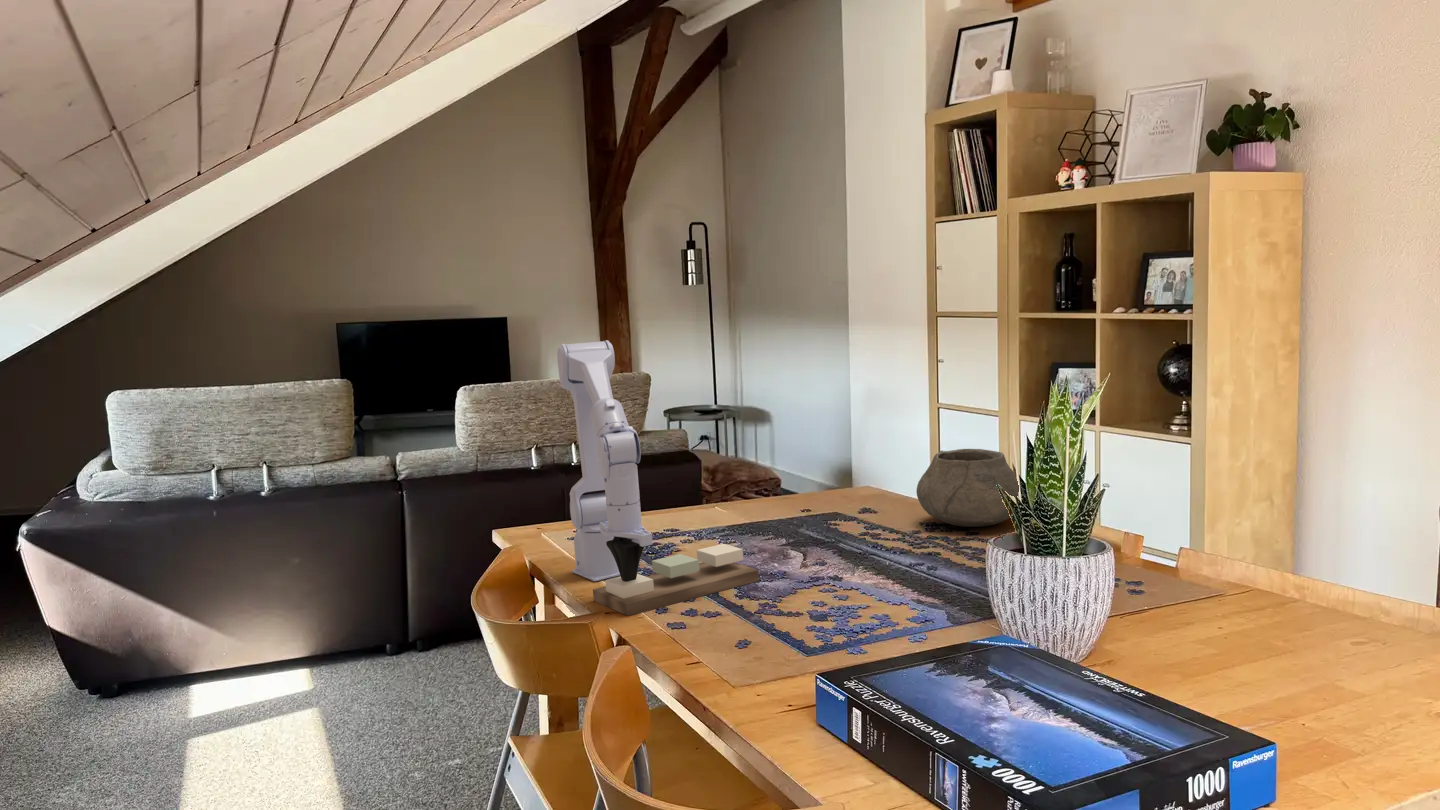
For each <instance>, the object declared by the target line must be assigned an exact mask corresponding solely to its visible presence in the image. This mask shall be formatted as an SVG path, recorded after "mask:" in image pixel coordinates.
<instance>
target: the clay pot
mask: <svg viewBox="0 0 1440 810" xmlns="http://www.w3.org/2000/svg"><path fill="white" fill-rule="evenodd" d="M1014 473H1015V472H1014V470H1013V469H1012V468H1011V467H1010V465H1009V463H1008V462H1007V459H1006V457H1005V453H1003V452H1000V451H996V450H990V449H983V448H959V449H953V450H945V451H939V452H937V453H936V454H935V455H934V456H933V458H932V460H931V463H930V465H929V466H928V467H927V469H926V470H925V471H924V473H923V474H922V476H921V477H920V479H919V481H918V483H917V486H916V492H915V493H916V496H917V500H918V502H919V504H920V506H921V507H922V509H923V511H925V512H926V513H927V514H928V515H929V516H931V517H932V518H934V519H935V520H939V521H941V522H943V523H946V524H948V525H952V526H957V527H964V528H966V527H967V528H977V527H978V528H979V527H989V526H992V525H993V526H994V525H996V524H1000V523H1002V522H1005V521H1006V520H1008V519H1010V518H1011V517H1010V516H1009V513H1008V510H1007V509H1006V507H1005V505H1004V503H1003V502H1002V498H1001V495H1000V493H999V490H998V488H997V486H996V484H999V485H1000V486H1001V487H1002V489H1003V490H1004V491H1006V492H1007V493H1008V494H1009V495H1011V496H1014V497H1017V496H1018V492H1019V485H1018V481H1017V479H1016V477H1015V475H1014Z"/></svg>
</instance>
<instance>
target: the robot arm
mask: <svg viewBox="0 0 1440 810" xmlns="http://www.w3.org/2000/svg"><path fill="white" fill-rule="evenodd" d="M556 354H557V358H556V359H557V369H558V377H559V382H560V385H561V388H562V389H564V390H565V391H568V392H570V394H571V398H572V401H573V408H574V415H575V416H574V417H575V425H576V431H577V439H578V440H577V441H578V442H577V443H578V449H579V457H580V465H581V473H582V475H581V476H582V477H581V478H580V479H579V480H578V481H577V482H576V483H575V484H574V485H573V486H572V487H571V489H570V492H569V500H570V501H569V514H570V518H571V519H570V520H571V523H572V526H573V527H574V528H575V529H576V530H577V531H575V535H574V537H573V545H574V546H573V547H574V558H575V568H574V569H573V568H572V570H571V572H572V573H573V574H576V575H578V576H580V577H583V578H585V579H588V580H590V581H593V582H598V581H602V580H608V579H612V578H616V577H620V576H621V579H622V581H625V582H628V581H632V580H636V577H637V574H638V570H639V564H640V561H641V556H642V553H643V551H644V549H645V547H648V546H651V545H653V543H654V541H653V534H652V532H649V531H648V530H647V529H646V528H645V526H643V525H642V524H643V523H642V513H641V499H640V497H641V495H640V485H639V474H638V473H639V472H638V465H637V464H640V462H641V454H642V452H641V442H640V438H639V435H638V433H637V430H636V429H634V428H633V427H634V426H630V424H629V422H628V419H627V416H626V414H625V411H624V408H623V405H622V403H621V401H619V400H617V399H614V396H613V395H614V394H613V391H612V387H611V382H610V380H611V379H612V378H611V377H612V375H613V372H614V371H615V365H616V358H615V357H616V356H615V350H614V347H613V344H612V343H611V342H610V341H609V340H608V339H607V340H603V341H591V342H579V343H578V342H577V343H567V344H566V343H560V345H559V346H558V348H557V353H556ZM598 491H604V492H599V493H591V492H598ZM585 493H589V494H585ZM590 493H591V494H590ZM583 494H585V495H583Z"/></svg>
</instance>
